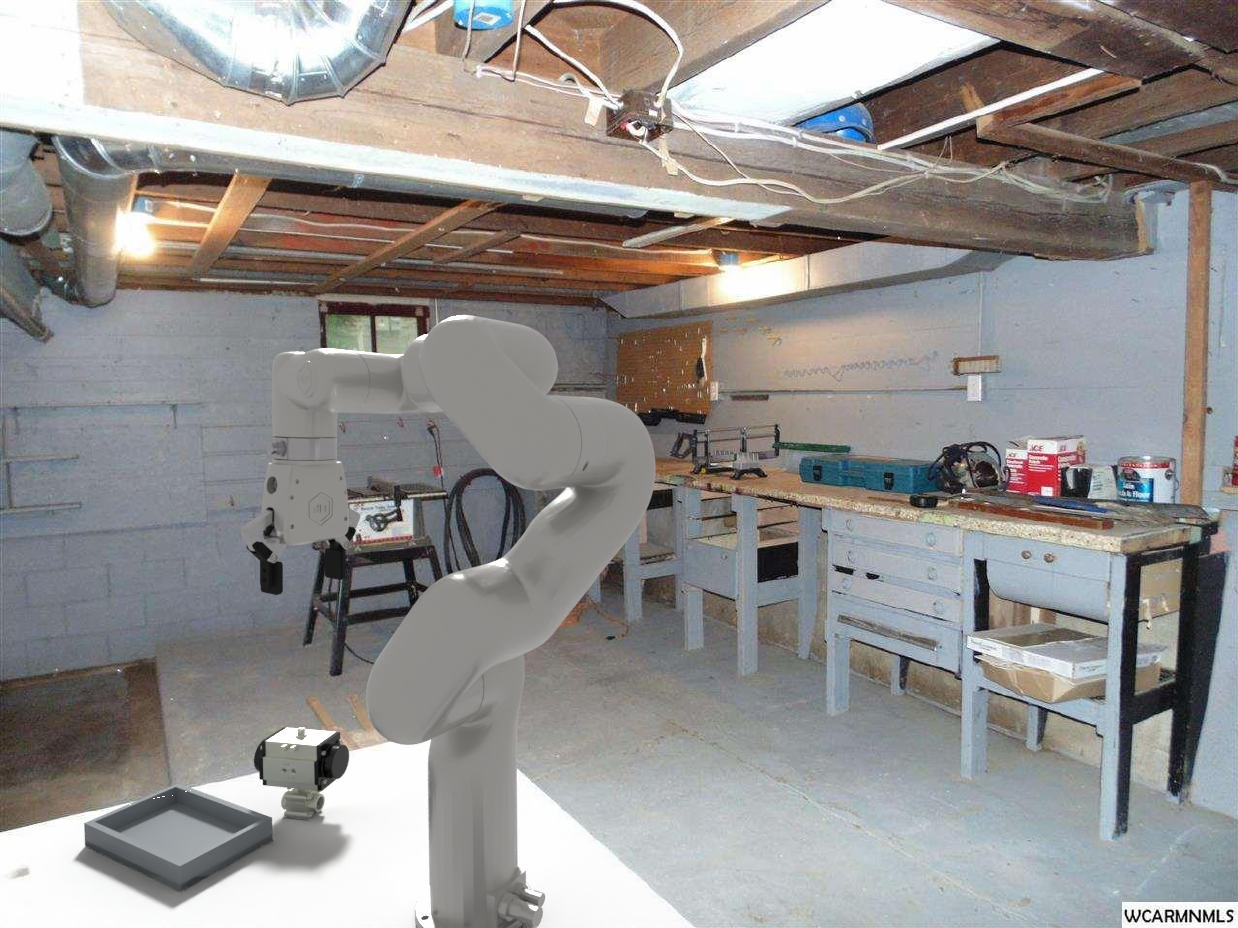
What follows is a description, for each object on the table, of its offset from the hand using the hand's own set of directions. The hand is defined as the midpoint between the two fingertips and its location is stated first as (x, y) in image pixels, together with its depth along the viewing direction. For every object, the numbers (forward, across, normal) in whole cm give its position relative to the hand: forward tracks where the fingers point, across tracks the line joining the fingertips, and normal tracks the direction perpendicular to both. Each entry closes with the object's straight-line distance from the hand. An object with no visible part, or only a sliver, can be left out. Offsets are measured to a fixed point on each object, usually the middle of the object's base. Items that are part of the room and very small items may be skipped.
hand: (304, 585), depth 95 cm
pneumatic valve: (+34, +3, +4) cm, 34 cm away
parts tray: (+34, -9, +13) cm, 37 cm away
